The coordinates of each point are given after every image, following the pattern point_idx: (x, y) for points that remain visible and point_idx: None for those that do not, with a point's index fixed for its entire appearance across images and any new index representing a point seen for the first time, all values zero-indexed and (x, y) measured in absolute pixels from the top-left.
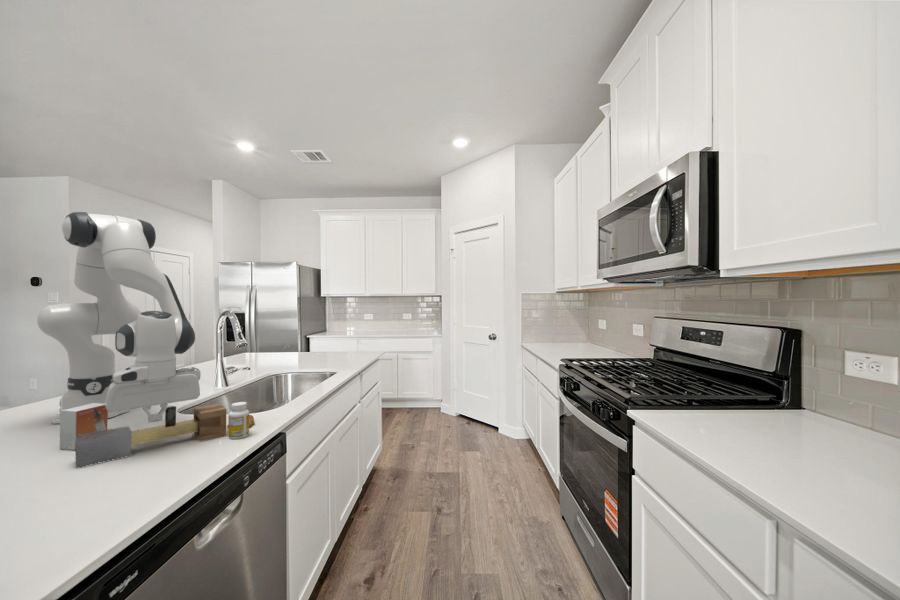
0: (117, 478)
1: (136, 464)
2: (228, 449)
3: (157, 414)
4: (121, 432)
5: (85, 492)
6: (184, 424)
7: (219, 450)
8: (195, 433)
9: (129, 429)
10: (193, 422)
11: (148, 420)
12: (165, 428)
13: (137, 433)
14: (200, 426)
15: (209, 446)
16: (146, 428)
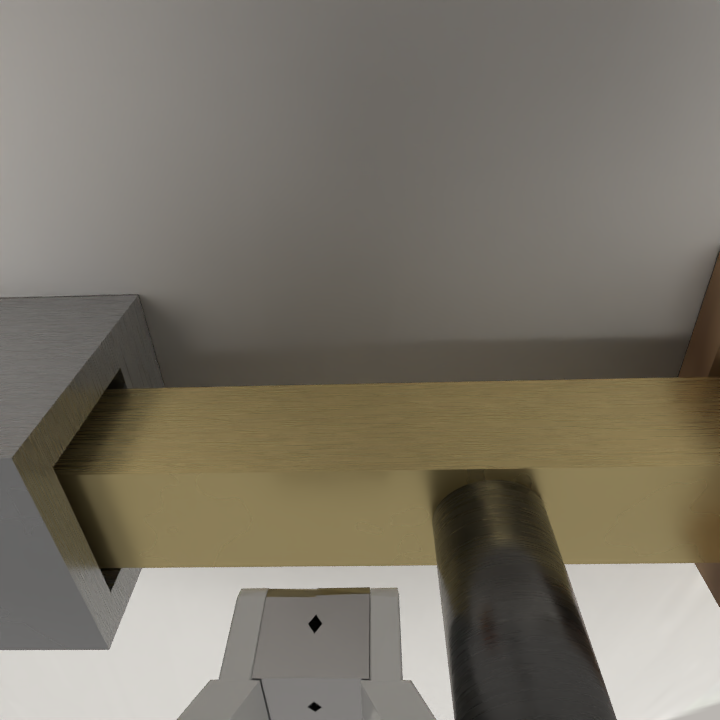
0: (166, 676)
1: (229, 594)
2: (667, 668)
3: (341, 716)
4: (16, 627)
5: (76, 712)
6: (611, 559)
7: (628, 656)
8: (712, 338)
9: (69, 589)
10: (709, 559)
11: (241, 609)
12: (421, 555)
13: (168, 561)
14: (712, 586)
15: (628, 584)
16: (242, 484)
